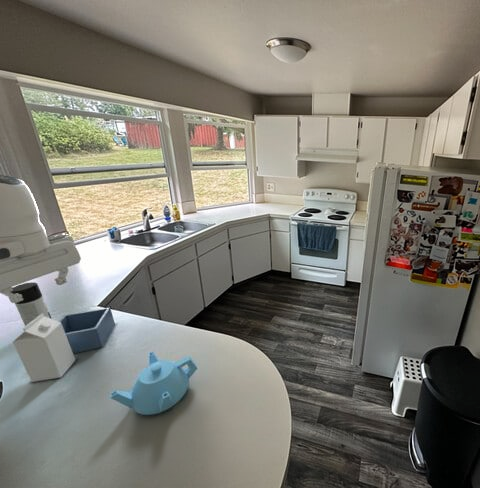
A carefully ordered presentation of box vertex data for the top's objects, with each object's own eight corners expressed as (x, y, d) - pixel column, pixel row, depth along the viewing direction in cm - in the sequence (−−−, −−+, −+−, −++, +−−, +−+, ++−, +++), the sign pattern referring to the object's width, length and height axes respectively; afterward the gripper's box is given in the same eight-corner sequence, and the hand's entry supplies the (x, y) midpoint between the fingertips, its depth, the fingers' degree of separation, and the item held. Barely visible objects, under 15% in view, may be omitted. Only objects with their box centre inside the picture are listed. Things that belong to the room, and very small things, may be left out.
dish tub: (51, 358, 83) (43, 338, 80) (70, 332, 95) (64, 314, 92) (102, 347, 88) (96, 328, 86) (115, 324, 100) (110, 307, 97)
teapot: (170, 425, 64) (163, 394, 61) (114, 420, 65) (104, 389, 61) (201, 376, 79) (197, 348, 75) (155, 372, 79) (149, 345, 76)
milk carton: (31, 382, 74) (6, 330, 68) (49, 364, 81) (27, 314, 74) (61, 377, 76) (39, 326, 70) (75, 360, 83) (57, 311, 76)
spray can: (60, 329, 96) (42, 283, 90) (37, 340, 90) (16, 292, 84) (48, 325, 98) (29, 280, 91) (24, 337, 92) (3, 289, 85)
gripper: (61, 230, 72) (75, 273, 76) (-52, 256, 53) (-25, 312, 57) (79, 232, 71) (92, 276, 75) (-30, 260, 52) (-4, 316, 56)
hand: (41, 292), depth 66 cm, fingers open, 8 cm apart
